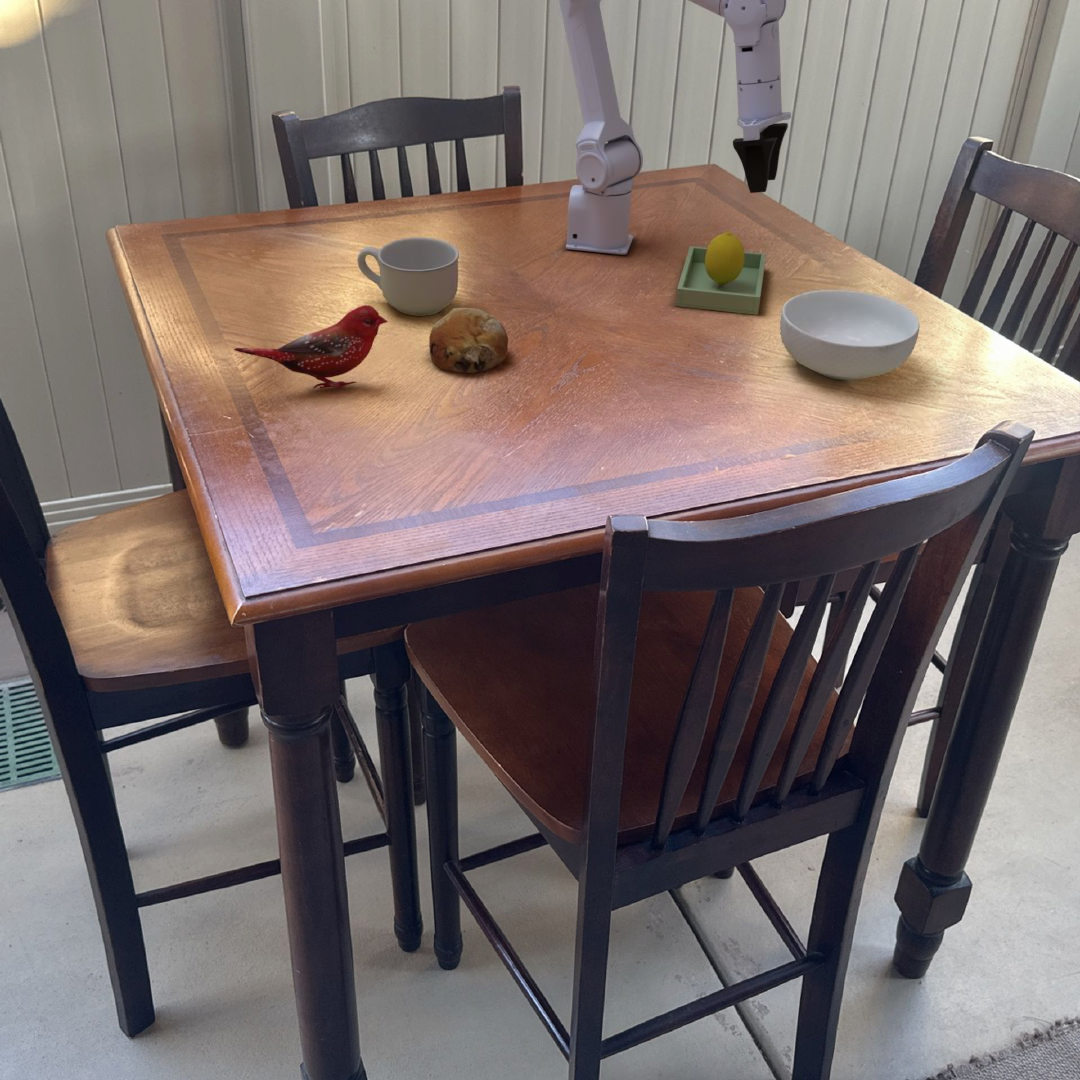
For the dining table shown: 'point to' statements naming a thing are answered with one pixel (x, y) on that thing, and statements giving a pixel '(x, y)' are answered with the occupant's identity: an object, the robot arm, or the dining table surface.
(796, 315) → the cereal bowl
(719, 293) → the tray
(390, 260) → the teacup
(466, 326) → the bread roll
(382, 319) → the decorative bird figurine
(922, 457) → the dining table surface
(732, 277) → the lemon
